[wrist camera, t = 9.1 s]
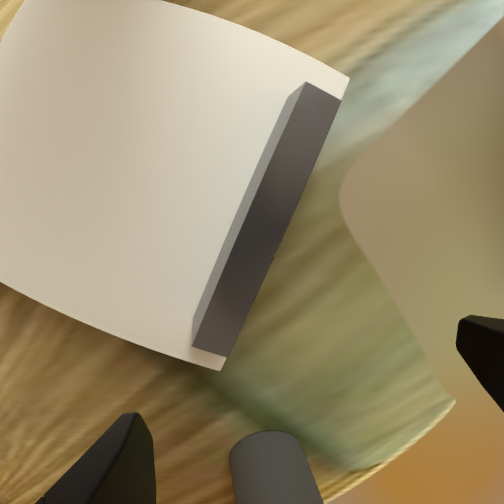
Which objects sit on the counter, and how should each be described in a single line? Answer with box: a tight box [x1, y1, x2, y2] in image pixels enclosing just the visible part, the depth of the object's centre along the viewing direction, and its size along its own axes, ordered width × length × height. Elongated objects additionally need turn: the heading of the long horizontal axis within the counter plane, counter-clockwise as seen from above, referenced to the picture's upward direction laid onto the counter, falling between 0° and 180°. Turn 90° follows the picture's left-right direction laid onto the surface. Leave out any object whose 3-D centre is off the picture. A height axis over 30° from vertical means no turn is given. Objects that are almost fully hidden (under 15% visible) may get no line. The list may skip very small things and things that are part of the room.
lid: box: [0, 0, 350, 371], centre depth 10 cm, size 14×16×3 cm
